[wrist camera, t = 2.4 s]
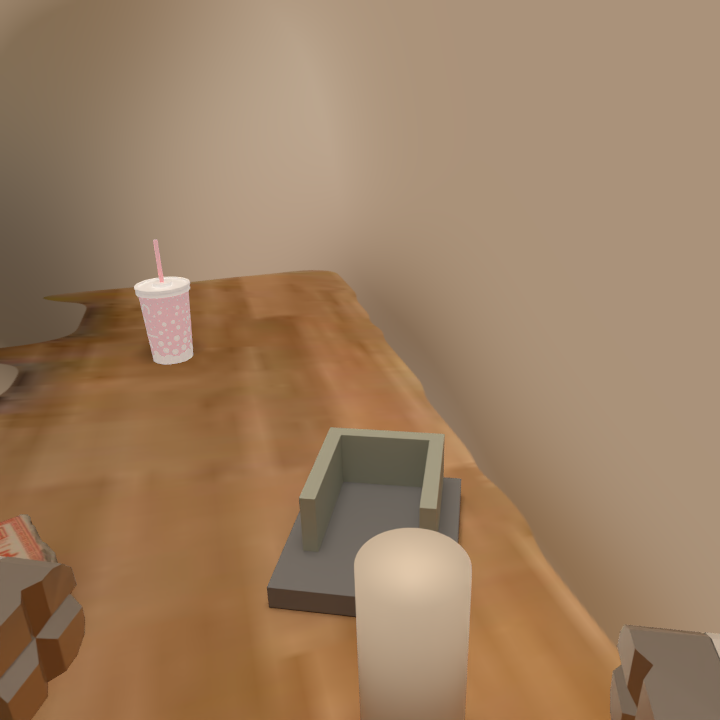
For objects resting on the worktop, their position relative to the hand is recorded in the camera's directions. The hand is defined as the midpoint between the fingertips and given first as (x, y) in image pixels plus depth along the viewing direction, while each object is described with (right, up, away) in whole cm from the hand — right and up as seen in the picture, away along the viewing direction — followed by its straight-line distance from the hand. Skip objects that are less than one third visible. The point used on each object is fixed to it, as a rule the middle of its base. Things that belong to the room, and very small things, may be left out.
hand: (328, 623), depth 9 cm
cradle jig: (+2, -9, +34) cm, 35 cm away
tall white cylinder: (+3, -15, +19) cm, 24 cm away
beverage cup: (-22, +4, +67) cm, 70 cm away
